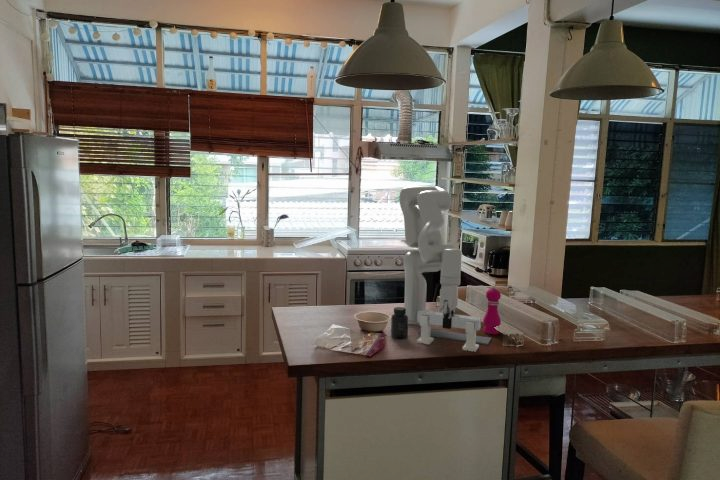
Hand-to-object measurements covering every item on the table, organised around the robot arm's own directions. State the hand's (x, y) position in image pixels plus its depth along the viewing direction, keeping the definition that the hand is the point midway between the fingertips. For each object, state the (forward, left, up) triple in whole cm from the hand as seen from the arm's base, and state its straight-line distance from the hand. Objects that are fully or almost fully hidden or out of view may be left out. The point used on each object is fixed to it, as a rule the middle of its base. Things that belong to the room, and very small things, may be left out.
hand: (448, 326), depth 210 cm
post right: (+9, 0, -7) cm, 12 cm away
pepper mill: (+12, +25, -8) cm, 29 cm away
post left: (-9, 0, -7) cm, 12 cm away
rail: (0, 0, +1) cm, 1 cm away
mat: (0, +11, -7) cm, 13 cm away
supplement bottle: (-20, 0, -8) cm, 21 cm away
